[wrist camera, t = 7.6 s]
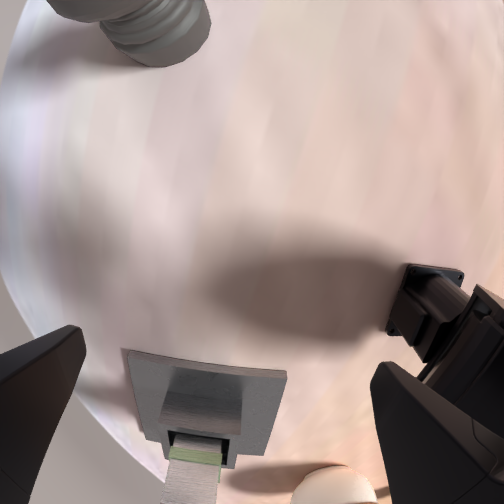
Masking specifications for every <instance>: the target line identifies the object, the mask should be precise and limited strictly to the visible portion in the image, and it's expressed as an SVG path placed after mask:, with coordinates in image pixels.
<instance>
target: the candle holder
mask: <svg viewBox="0 0 504 504" xmlns="http://www.w3.org/2000/svg"><path fill="white" fill-rule="evenodd" d="M47 2H48V3H49V4H50V5H51V7H52V8H53V9H54V10H55V11H56V13H57V14H59V15H61V16H63V17H65V18H68V19H72V20H76V21H79V22H86V23H91V22H96V21H100V28H101V29H102V31H103V32H104V33H105V34H106V36H107V37H108V38H109V39H110V41H111V42H112V43H113V45H114V46H115V47H116V48H117V49H118V50H120V51H121V52H123V53H124V54H126V55H128V56H129V57H131V58H132V59H134V60H135V61H137V62H139V63H142V64H144V65H146V66H148V67H167V66H170V65H173V64H176V63H180V62H183V61H184V60H186V59H187V58H188V57H190V56H191V55H193V54H194V53H196V52H197V51H198V50H199V49H200V47H201V46H202V45H203V43H204V42H205V41H206V39H207V38H208V35H209V31H210V27H211V20H210V16H209V12H208V9H207V6H206V3H205V1H204V0H47Z"/></svg>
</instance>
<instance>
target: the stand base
mask: <svg viewBox="0 0 504 504" xmlns="http://www.w3.org/2000/svg"><path fill="white" fill-rule="evenodd" d="M127 359H128V364H129V370H130V375H131V380H132V385H133V390H134V394H135V399H136V403H137V407H138V412H139V416H140V420H141V424H142V427H143V431H144V435H145V438H146V440H150V441H154V442H159V443H161V444H162V449H163V453H164V457H165V459H167V460H169V452H170V448H171V446H173V444H174V440H175V436H176V433H178V434H184V435H190V436H197V437H204V438H211V439H219V440H222V443H221V454H222V462H221V468H228V469H234V468H235V463H236V457H237V454H242V455H259V456H263V455H264V452H265V449H266V446H267V443H268V440H269V437H270V434H271V431H272V428H273V425H274V422H275V419H276V415H277V412H278V409H279V405H280V402H281V399H282V395H283V392H284V389H285V385H286V382H287V372H286V371H278V370H264V369H252V368H242V367H232V366H224V365H215V364H208V363H201V362H194V361H187V360H181V359H175V358H169V357H163V356H158V355H153V354H147V353H142V352H138V351H133V350H131V351H130V353H129V354H128V356H127Z"/></svg>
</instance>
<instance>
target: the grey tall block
mask: <svg viewBox="0 0 504 504" xmlns="http://www.w3.org/2000/svg"><path fill="white" fill-rule="evenodd" d="M221 443H222V440H219V439H211V438H204V437H197V436H190V435H184V434H178V433H176V436H175V440H174V444H173V446H171V448H170V452H169V466H168V471H167V475H166V480H165V485H164V489H163V494H162V499H161V503H160V504H216V496H217V485H218V483H219V482H220V472H221V462H222V454H221Z"/></svg>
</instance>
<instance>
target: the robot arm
mask: <svg viewBox="0 0 504 504" xmlns="http://www.w3.org/2000/svg"><path fill="white" fill-rule="evenodd" d="M413 269H414V271H413V272H412V273H411V270H413ZM459 275H460V276H459ZM458 277H459V278H458ZM463 279H464V273H463V272H462V271H460V270H454V269H446V268H438V267H430V266H423V265H415V264H411V265H409V266H408V267H407V269H406V272H405V275H404V278H403V281H402V284H401V287H400V290H399V291H398V294H397V297H396V300H395V303H394V306H393V308H392V311H391V314H390V319H389V321H388V324H387V326H386V329H385V331H386V333H387V335H388V336H403V338H404V339H405V341H406V342H407V344H408V345H409V346H410V347H413V348H414V350H415V351H416V353H417V354H418V356H419V358H420V359H421V361H422V362H423V363H427V364H426V366H425V367H424V368H423V370H422V371H421V372H420V373H419V375H418V376H417V377H414V376H412V375H411V374H410V373H408V372H407V371H405V370H404V369H403V368H401V367H400V366H398V365H397V364H396V363H394V362H391V361H389V362H381V363H380V364H379V365H378V367H377V369H376V371H375V374H374V376H373V378H372V380H371V383H370V391H371V397H372V404H373V411H374V418H375V425H376V430H377V435H378V439H379V443H380V447H381V452H382V456H383V460H384V465H385V469H386V474H387V479H388V484H389V489H390V494H391V499H392V504H504V299H502V298H500V297H499V296H497V295H495V294H494V293H492V292H490V291H489V290H487V289H485V288H483V287H482V286H480V285H478V284H476V286H475V288H474V290H473V291H474V292H473V294H472V296H471V297H470V296H469V295H468V294H466V293H465V292H464V291H463V290H462V289H461V288H460V287H461V284H462V282H463ZM391 329H392V330H391ZM390 330H391V331H390ZM85 356H86V345H85V341H84V336H83V332H82V329H81V328H80V327H77V326H74V325H67V326H65V327H62V328H60V329H58V330H55V331H53V332H51V333H48V334H46V335H44V336H41V337H39V338H37V339H35V340H32V341H30V342H28V343H25V344H23V345H21V346H18V347H16V348H14V349H12V350H9V351H7V352H5V353H3V354H0V504H28V503H29V500H30V495H31V493H32V490H33V487H34V484H35V481H36V478H37V475H38V473H39V470H40V467H41V465H42V462H43V459H44V457H45V454H46V451H47V449H48V447H49V444H50V442H51V439H52V437H53V434H54V432H55V430H56V428H57V425H58V423H59V420H60V418H61V416H62V414H63V412H64V409H65V407H66V405H67V403H68V401H69V399H70V397H71V394H72V392H73V389H74V386H75V384H76V381H77V378H78V375H79V372H80V370H81V367H82V364H83V362H84V359H85Z"/></svg>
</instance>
